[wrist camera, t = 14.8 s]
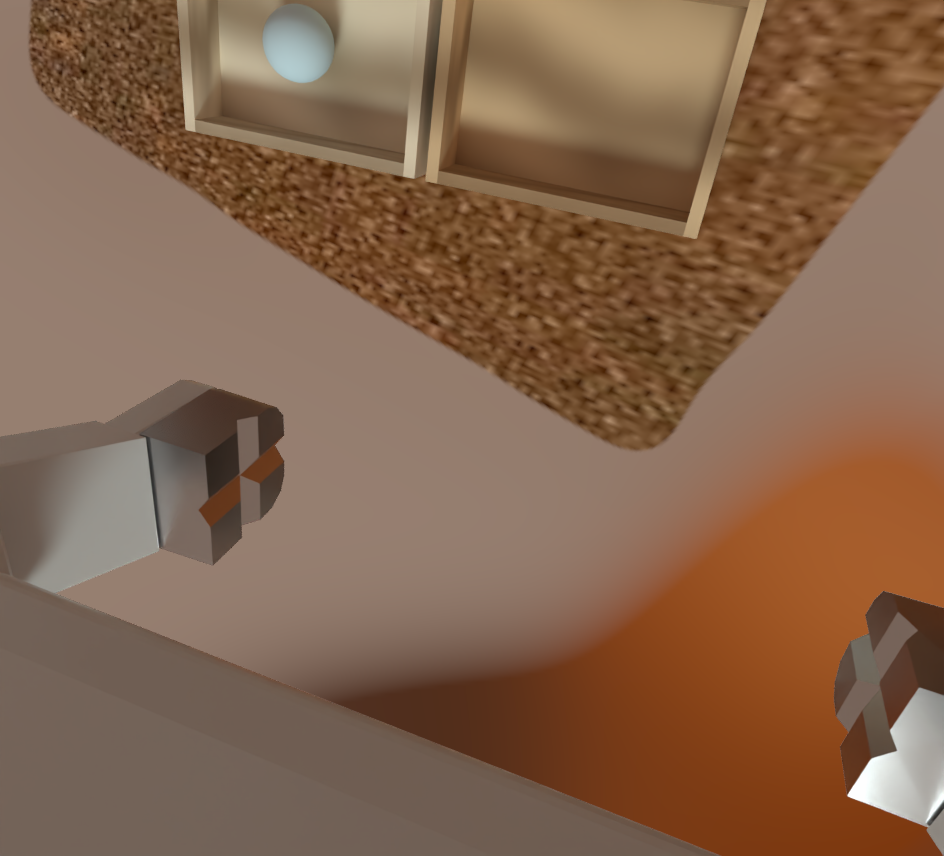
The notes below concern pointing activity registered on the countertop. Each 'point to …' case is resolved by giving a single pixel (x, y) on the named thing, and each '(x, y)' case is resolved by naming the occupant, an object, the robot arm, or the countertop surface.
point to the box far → (317, 81)
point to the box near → (590, 103)
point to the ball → (298, 43)
